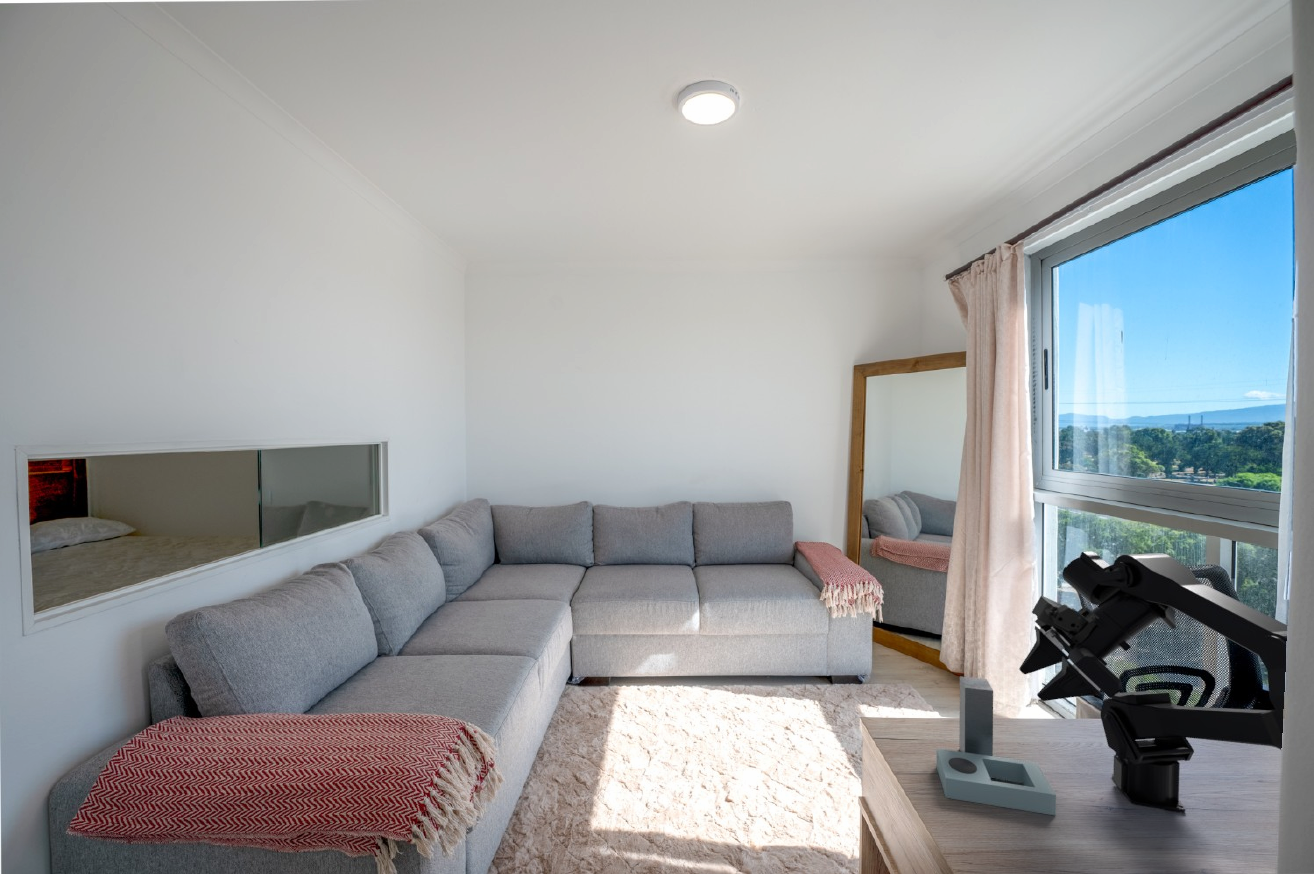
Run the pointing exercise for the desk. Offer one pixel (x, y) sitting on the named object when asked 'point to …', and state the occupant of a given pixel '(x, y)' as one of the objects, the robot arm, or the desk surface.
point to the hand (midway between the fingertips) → (1030, 684)
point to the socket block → (972, 782)
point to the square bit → (976, 716)
